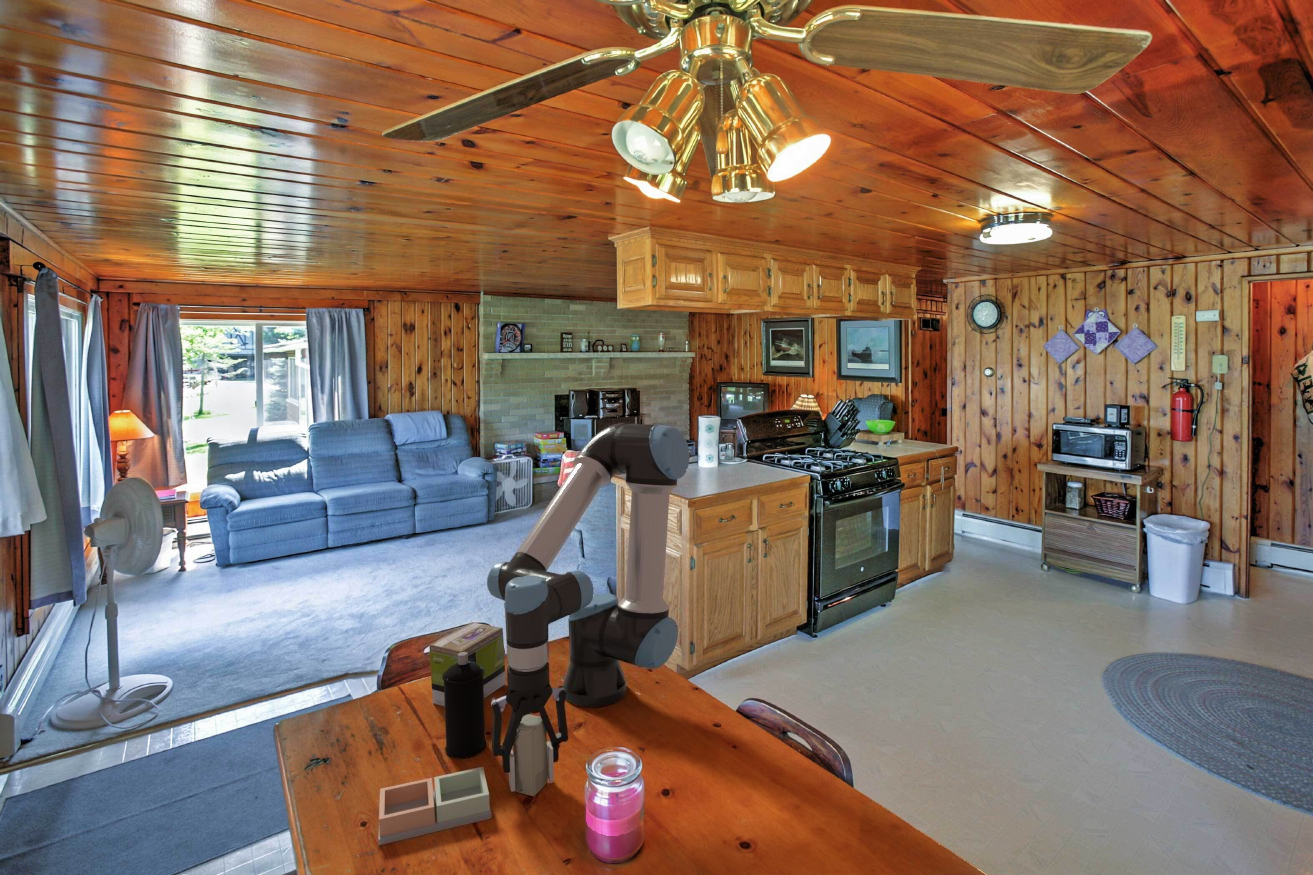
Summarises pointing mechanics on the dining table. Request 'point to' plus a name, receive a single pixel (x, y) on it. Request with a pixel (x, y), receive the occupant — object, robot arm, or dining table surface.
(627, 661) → the robot arm
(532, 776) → the box
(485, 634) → the tea box
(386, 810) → the socket board
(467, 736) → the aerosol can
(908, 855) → the dining table surface
